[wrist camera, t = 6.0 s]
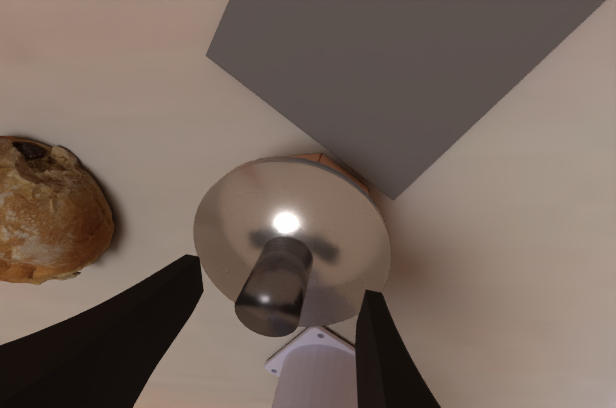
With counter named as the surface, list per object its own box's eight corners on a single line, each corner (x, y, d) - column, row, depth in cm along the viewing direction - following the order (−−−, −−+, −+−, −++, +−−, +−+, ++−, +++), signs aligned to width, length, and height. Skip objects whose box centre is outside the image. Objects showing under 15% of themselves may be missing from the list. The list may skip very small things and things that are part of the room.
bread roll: (156, 173, 22) (68, 166, 14) (115, 288, 22) (8, 345, 14) (40, 127, 22) (-117, 93, 14) (2, 245, 22) (-169, 277, 14)
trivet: (631, -34, 10) (646, -38, 9) (392, 195, 15) (393, 200, 15) (378, -322, 8) (379, -349, 7) (211, 56, 14) (205, 55, 13)
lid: (434, 247, 12) (466, 325, 8) (307, 337, 16) (293, 413, 13) (265, 107, 10) (217, 131, 7) (174, 247, 15) (115, 306, 11)
